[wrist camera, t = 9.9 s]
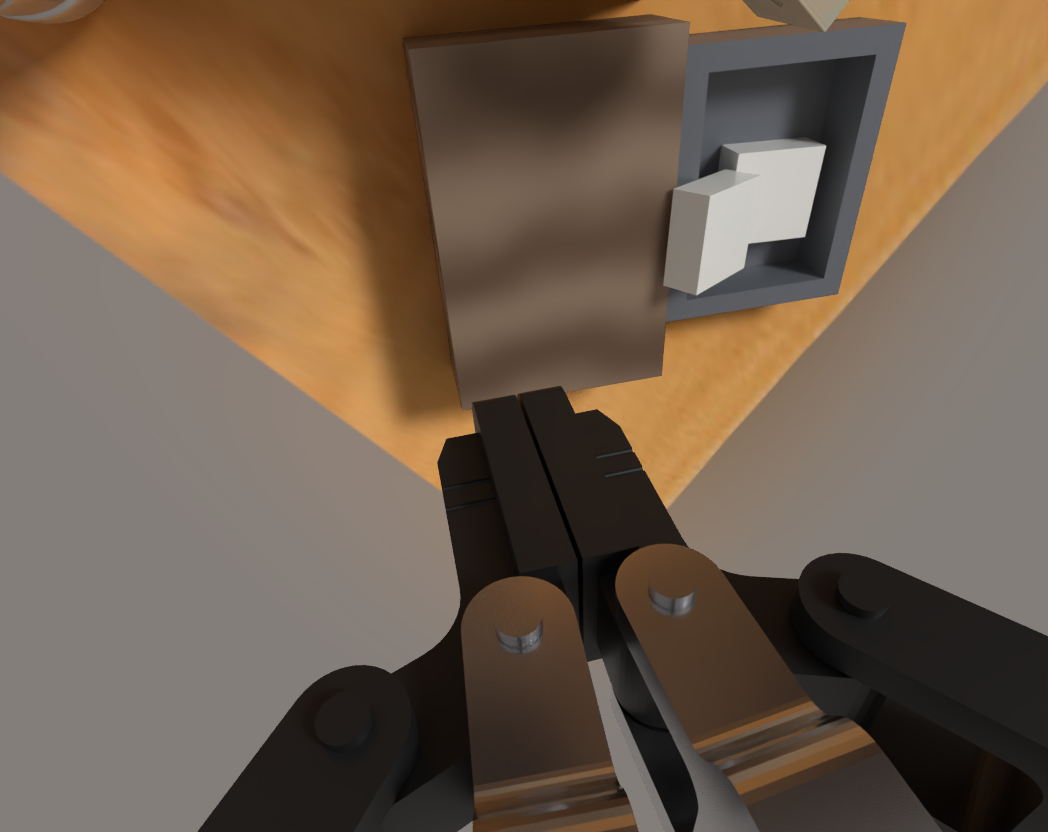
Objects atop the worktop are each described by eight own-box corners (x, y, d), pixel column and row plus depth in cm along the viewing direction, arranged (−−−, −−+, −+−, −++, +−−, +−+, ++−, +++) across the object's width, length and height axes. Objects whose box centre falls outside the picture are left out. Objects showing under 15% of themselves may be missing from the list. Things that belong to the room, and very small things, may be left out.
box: (657, 37, 31) (686, 45, 29) (860, 17, 33) (906, 22, 30) (643, 296, 40) (665, 322, 37) (805, 271, 41) (837, 294, 38)
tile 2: (826, 145, 34) (805, 137, 35) (739, 153, 33) (721, 144, 35) (804, 236, 37) (786, 225, 38) (724, 246, 36) (708, 234, 38)
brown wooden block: (402, 38, 29) (408, 49, 26) (651, 14, 31) (689, 22, 27) (452, 369, 40) (462, 410, 36) (635, 339, 41) (661, 375, 38)
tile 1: (673, 188, 31) (710, 196, 30) (725, 169, 34) (760, 175, 33) (663, 285, 34) (696, 295, 33) (711, 259, 37) (743, 267, 36)
